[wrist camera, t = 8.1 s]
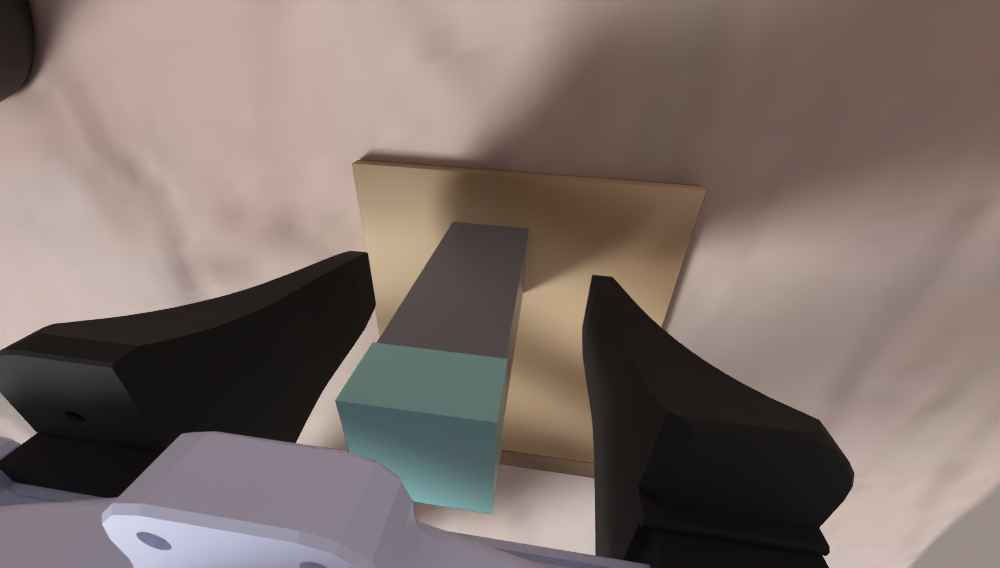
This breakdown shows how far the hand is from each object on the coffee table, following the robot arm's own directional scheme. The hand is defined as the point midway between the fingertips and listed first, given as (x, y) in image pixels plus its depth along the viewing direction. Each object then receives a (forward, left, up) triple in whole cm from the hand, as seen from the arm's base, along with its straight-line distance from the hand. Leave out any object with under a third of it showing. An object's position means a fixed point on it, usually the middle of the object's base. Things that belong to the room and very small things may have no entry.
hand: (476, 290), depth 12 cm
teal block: (0, 0, -3) cm, 3 cm away
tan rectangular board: (-5, -1, -3) cm, 6 cm away
